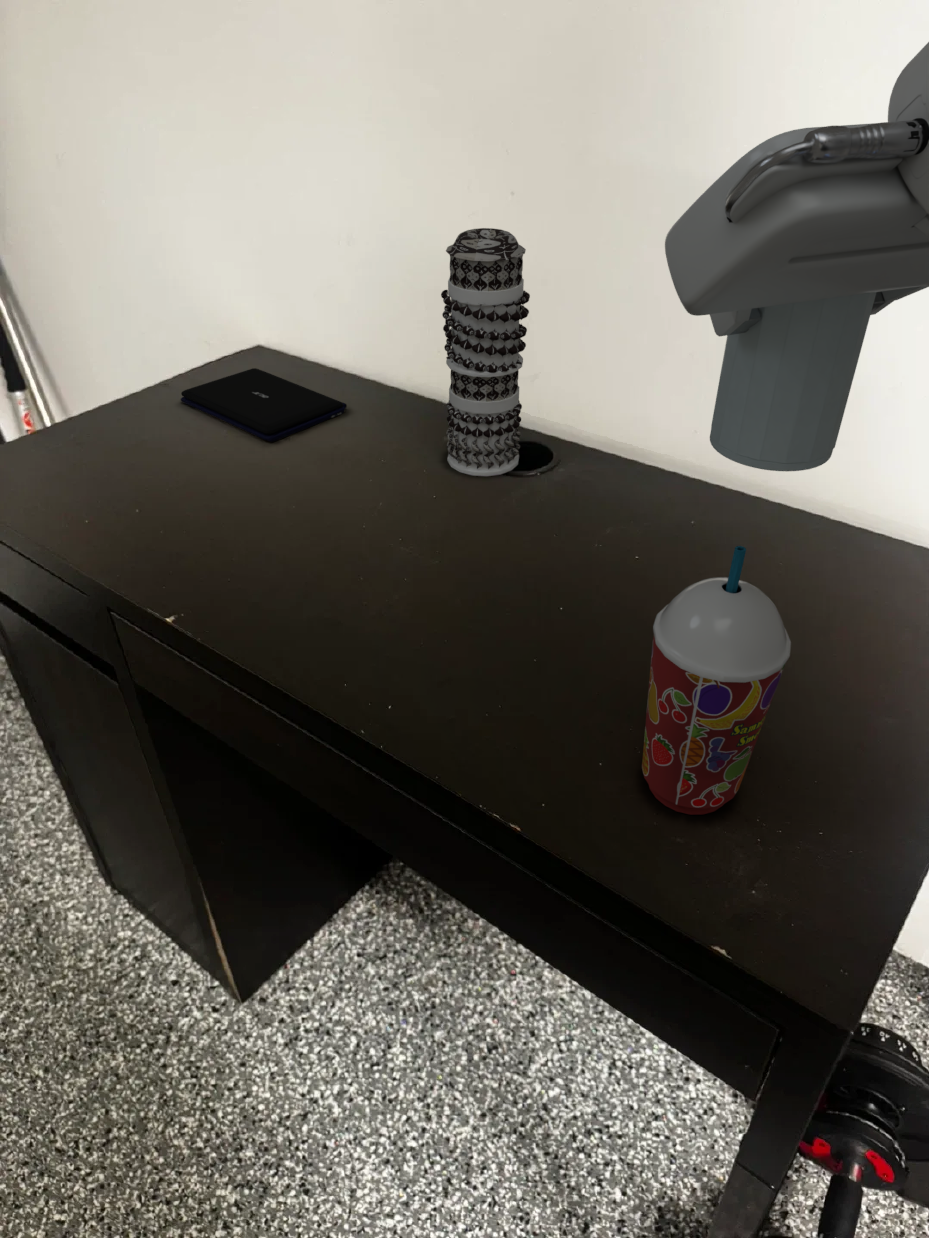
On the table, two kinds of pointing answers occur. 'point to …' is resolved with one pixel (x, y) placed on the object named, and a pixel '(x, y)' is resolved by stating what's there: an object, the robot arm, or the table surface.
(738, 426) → the small bottle
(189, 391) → the laptop
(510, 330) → the decorative candle
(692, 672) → the smoothie
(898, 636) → the table surface
